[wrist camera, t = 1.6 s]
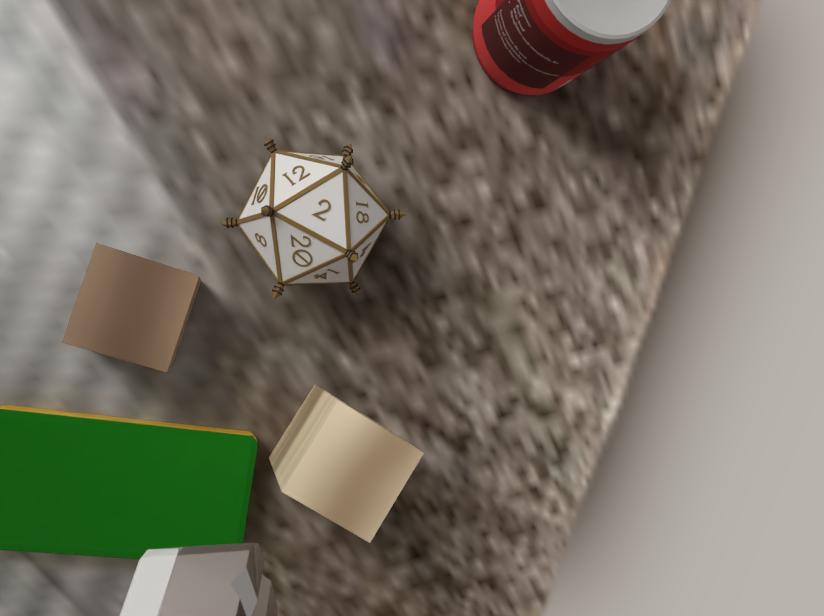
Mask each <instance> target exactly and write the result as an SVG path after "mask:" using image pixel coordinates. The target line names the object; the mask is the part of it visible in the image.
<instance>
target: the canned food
mask: <svg viewBox="0 0 824 616" xmlns="http://www.w3.org/2000/svg"><path fill="white" fill-rule="evenodd" d="M669 3H670V0H479V2H478V5H477V7H476V11H475V15H474V21H473V34H472V36H473V44H474V49H475V52H476V56H477V59H478V60H479V62H480V64H481V66H482V68H483V70H484V71H485V72H486V74H487V75H488V76H489V77H490V78H491V79H492V80H493V81H494V82H495V83H496V84H497V85H499V86H501V87H502V88H504V89H506V90H507V91H510V92H513V93H516V94H522V95H542V94H546V93H549V92H552V91H555V90H557V89H558V88H560V87H562V86H563V85H565V84H566V83H568V82H569V81H571V80H573V79H574V78H576V77H577V76H579V75H580V74H582V73H583V72H585V71H587V70H588V69H590V68H591V67H593V66H594V65H596V64H597V63H599V62H601V61H602V60H604V59H605V58H607V57H608V56H610V55H611V54H613V53H615V52H616V51H618V50H619V49H621V48H622V47H624V46H625V45H627V44H629V43H630V42H632V41H633V40H635V39H636V38H637V37H639V36H640V35H642V34H643V33H645V32H646V31H647V30H648V29H649V28H650V27H651V26H652V25H653V24H654V23H655V22H656V21H657V20H658V19H660V17H661V16H662V14H663V13H664V11H665V10H666V9H667V7H668V5H669Z"/></svg>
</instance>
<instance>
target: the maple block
mask: <svg viewBox="0 0 824 616" xmlns="http://www.w3.org/2000/svg"><path fill="white" fill-rule="evenodd" d="M423 454H424V453H423V452H422V451H420V450H419V449H417V448H416V447H414V446H413V445H411V444H410V443H408V442H406V441H405V440H403V439H402V438H400V437H399V436H397V435H396V434H394V433H393V432H391V431H390V430H388V429H387V428H385V427H384V426H382V425H380V424H379V423H377V422H376V421H374V420H372V419H371V418H369V417H368V416H366V415H364V414H363V413H361V412H359V411H358V410H356V409H355V408H353V407H351V406H350V405H348V404H347V403H345V402H343V401H342V400H340V399H338V398H337V397H335V396H334V395H332V394H330V393H329V392H327V391H326V390H324V389H322V388H321V387H319V386H317V385H316V384H315V385H314V387H313V388H312V390H311V391H310V393H309V395H308V396H307V398H306V399H305V401H304V402H303V404H302V406H301V407H300V409H299V410H298V412H297V414H296V415H295V417H294V418H293V420H292V421H291V423H290V425H289V426H288V428H287V429H286V431H285V433H284V434H283V436H282V437H281V439H280V440H279V442H278V444H277V445H276V447H275V448H274V450H273V452H272V453H271V455H270V456H269V460H270V462H271V465H272V468H273V470H274V473H275V475H276V478H277V481H278V483H279V486H280V489H281V491H282V492H283V493H285V494H286V495H288V496H290V497H291V498H293V499H295V500H297V501H298V502H300V503H302V504H304V505H305V506H307V507H309V508H310V509H312V510H314V511H316V512H317V513H319V514H321V515H322V516H324V517H326V518H328V519H329V520H331V521H333V522H335V523H336V524H338V525H340V526H341V527H343V528H345V529H347V530H348V531H350V532H352V533H354V534H355V535H357V536H359V537H360V538H362V539H364V540H366V541H367V542H369V543H370V542H371V540H372V539H373V537H374V535H375V534H376V532H377V530H378V529H379V527H380V525H381V524H382V522H383V520H384V519H385V517H386V515H387V514H388V512H389V510H390V509H391V507H392V505H393V504H394V502H395V500H396V499H397V497H398V495H399V494H400V492H401V490H402V489H403V487H404V485H405V484H406V482H407V480H408V479H409V477H410V475H411V474H412V472H413V470H414V469H415V467H416V465H417V464H418V462H419V460H420V459H421V457H422V455H423Z"/></svg>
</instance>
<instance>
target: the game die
mask: <svg viewBox="0 0 824 616" xmlns="http://www.w3.org/2000/svg"><path fill="white" fill-rule="evenodd" d="M264 139H265V144H264V146H266V147H267V150H269V151H270V152H271V155H270V157H269V159H268V161H267V163H266V165H265V167H264V169H263V171H262V172H261V174H260V176H259V178H258V180H257V182H256V184H255V186H254V188H253V190H252V192H251V194H250V196H249V198H248V200H247V202H246V204H245V205H244V207H243V209H242V211H241V213H240V215H239V217H238V219H233V218H231V219H228V218H227V219H226V220H224V221H223V222H221V224H222V225H224V226H226V227H227V228H229V227H232V228H233V227H234V226H239V228H240V229H241V231H242V232H243V234H244V235H245V236H246V238H247V239H248V241H249V242H250V243H251V245H252V246H253V248H254V249H255V250H256V252H257V253H258V255H259V256H260V257H261V259H262V260H263V262H264V263H265V265H266V266H267V267H268V269H269V270H270V272H271V273H272V274H273V276H274V277H275V279H276V280H277V281H278V284H277V285H276V286H274V287H275V288H274V290H273V289H272V292H273V299H275V298H277V297H278V296H280V295H282V292H283V291H284V290H283V288H284V286H285V285H313V284H341V283H349V284H350V289H351V290H352V292H354V293H356V294H358V295H360V286H358V283H356V282H355V281H354V280H355V278H356V276H357V275H358V273H359V271H360V269H361V268H362V266H363V264H364V262H365V261H366V259H367V257H368V255H369V254H370V252H371V250H372V248H373V246H374V245H375V243H376V241H377V239H378V238H379V236H380V234H381V232H382V231H383V229H384V227H385V225H386V224H387V222H388V220H389V218H393V219H394V220H396V219H399V220H400V218H402V217H403V216H405V215H406V214H405V213H403V212H402V211H400V210H399V209H398V210H394V211H392V212H389V211H388V210H387V208H386V207H385V206H384V204H383V203H382V202H381V200H380V199H379V198H378V197H377V195H376V194H375V193H374V191H373V190H372V189H371V187H370V186H369V185H368V184H367V182H366V181H365V180H364V178H363V177H362V176H361V174H360V173H359V172H358V171H357V169H356V168H355V167H354V165H353V159H352V155H351V153H353V149H352V143H351V144H350V145H348V146H345V147H344V150H343V151H342V152H343V154H342V155H335V154H322V153H309V152H296V151H284V150H277V149H276V147H275V145H276V144H274V142H273V141H274V140H271V139H269V138H268V137H266V136H264Z"/></svg>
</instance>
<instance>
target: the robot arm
mask: <svg viewBox="0 0 824 616" xmlns="http://www.w3.org/2000/svg"><path fill="white" fill-rule="evenodd" d="M264 560H265V559H264V557H263V554H262V551H261V548H260V545H259V543H238V544H222V545H205V546H188V547H178V548H163V549H148V550H147V551H146V552H145V553H144V555H143V556H142V557H141V559H140V560H139V562H138V565H137V568H136V570H135V573H134V576H133V579H132V582H131V585H130V587H129V590H128V593H127V596H126V599H125V602H124V604H123V607H122V610H121V613H120V616H277V605H276V598H275V592H274V589H273V585H272V582H271V581H270V580H269V579H267V578H266V577H265V576H263V575H262V572H263V566H264Z"/></svg>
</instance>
